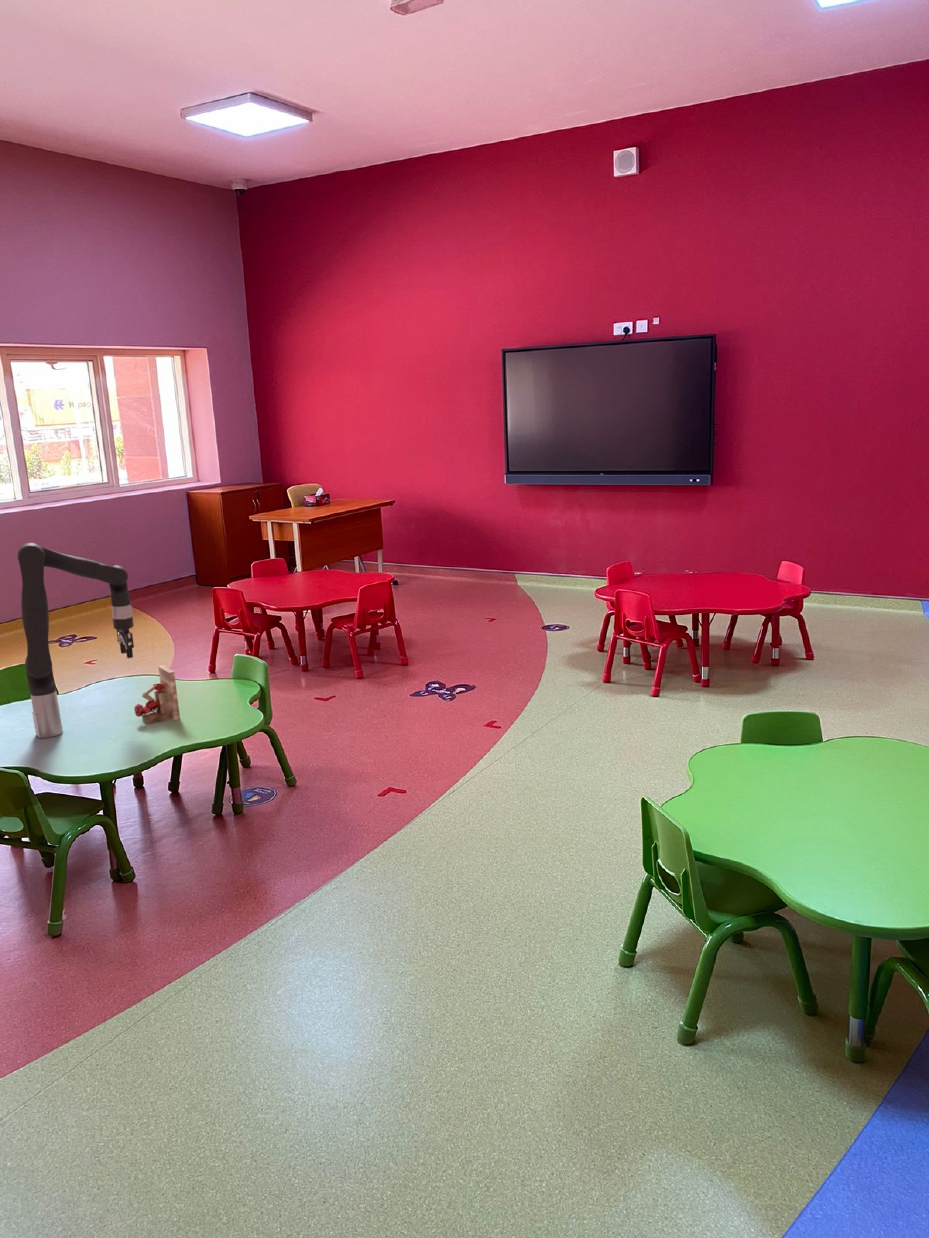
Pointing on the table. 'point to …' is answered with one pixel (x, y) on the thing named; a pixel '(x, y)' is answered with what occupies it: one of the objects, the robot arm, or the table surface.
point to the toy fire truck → (149, 702)
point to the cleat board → (165, 699)
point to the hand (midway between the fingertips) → (127, 655)
